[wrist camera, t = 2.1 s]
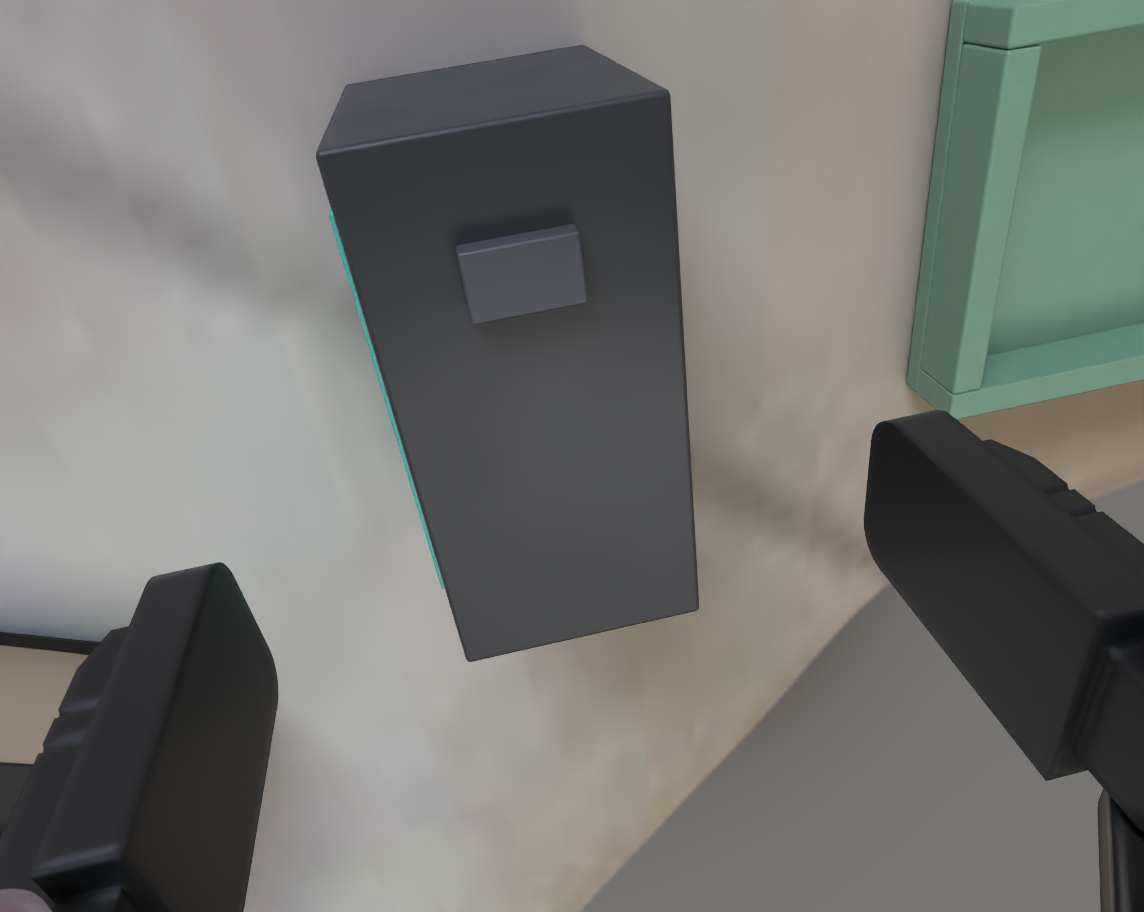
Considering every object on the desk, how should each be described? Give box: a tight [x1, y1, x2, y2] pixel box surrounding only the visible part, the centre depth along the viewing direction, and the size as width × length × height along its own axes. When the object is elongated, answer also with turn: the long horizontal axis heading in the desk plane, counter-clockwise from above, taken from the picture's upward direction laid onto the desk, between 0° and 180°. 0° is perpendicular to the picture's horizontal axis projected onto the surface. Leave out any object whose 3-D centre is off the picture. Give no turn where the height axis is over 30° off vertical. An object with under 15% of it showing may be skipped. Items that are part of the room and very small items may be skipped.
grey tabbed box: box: [316, 45, 699, 662], centre depth 14 cm, size 5×9×6 cm, turn 7°
